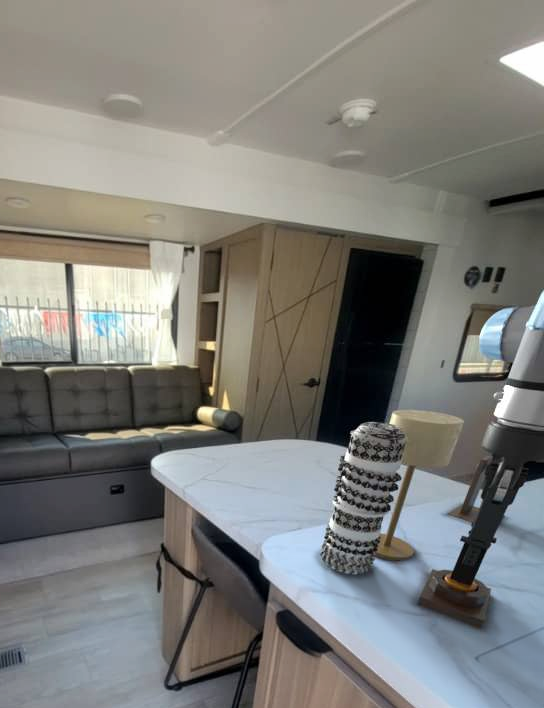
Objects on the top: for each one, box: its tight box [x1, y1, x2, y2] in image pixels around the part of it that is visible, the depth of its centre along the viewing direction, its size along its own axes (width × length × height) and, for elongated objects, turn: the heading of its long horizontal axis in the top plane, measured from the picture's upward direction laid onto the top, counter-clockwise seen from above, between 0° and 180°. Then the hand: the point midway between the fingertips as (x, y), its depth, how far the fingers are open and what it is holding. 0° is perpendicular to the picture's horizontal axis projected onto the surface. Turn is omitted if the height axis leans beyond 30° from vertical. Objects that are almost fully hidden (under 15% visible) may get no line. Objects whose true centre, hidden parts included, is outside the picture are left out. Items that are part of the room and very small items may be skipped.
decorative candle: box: [319, 421, 409, 575], centre depth 66 cm, size 9×9×25 cm
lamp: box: [374, 409, 465, 562], centre depth 71 cm, size 10×10×26 cm
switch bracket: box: [446, 455, 506, 523], centre depth 87 cm, size 10×8×14 cm
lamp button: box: [444, 574, 477, 592], centre depth 61 cm, size 4×4×2 cm
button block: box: [416, 568, 492, 630], centre depth 62 cm, size 10×8×4 cm
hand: (461, 579), depth 61 cm, fingers closed
